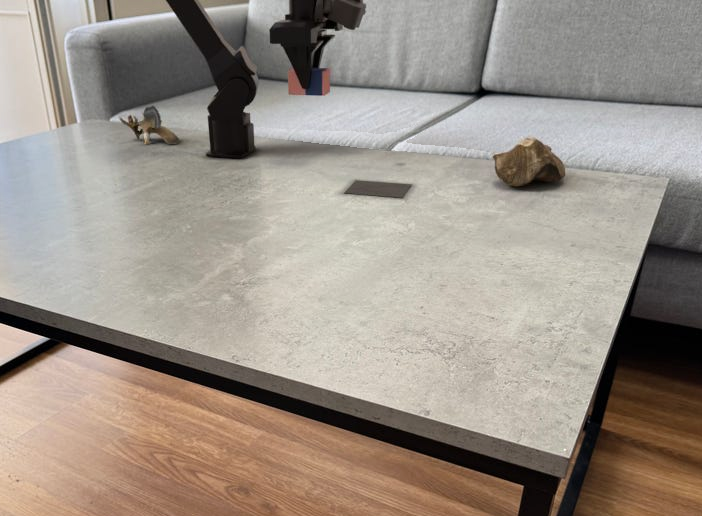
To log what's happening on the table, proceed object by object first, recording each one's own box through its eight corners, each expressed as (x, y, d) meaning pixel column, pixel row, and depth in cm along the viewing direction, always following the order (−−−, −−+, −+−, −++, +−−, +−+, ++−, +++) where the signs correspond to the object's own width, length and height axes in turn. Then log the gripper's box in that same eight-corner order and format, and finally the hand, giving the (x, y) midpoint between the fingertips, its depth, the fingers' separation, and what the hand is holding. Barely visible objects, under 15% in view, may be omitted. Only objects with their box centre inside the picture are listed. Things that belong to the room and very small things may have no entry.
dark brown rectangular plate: (344, 193, 95) (344, 192, 95) (355, 180, 100) (355, 180, 100) (402, 198, 93) (402, 197, 92) (411, 185, 97) (411, 184, 97)
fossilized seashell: (554, 153, 99) (483, 168, 100) (564, 118, 93) (488, 134, 94) (571, 194, 96) (497, 208, 96) (582, 160, 90) (504, 176, 91)
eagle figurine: (116, 140, 122) (158, 133, 117) (119, 100, 122) (161, 92, 118) (144, 155, 128) (184, 149, 124) (146, 117, 129) (187, 110, 125)
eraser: (288, 95, 110) (287, 70, 108) (294, 91, 113) (293, 67, 111) (324, 95, 108) (324, 71, 106) (330, 92, 111) (330, 68, 109)
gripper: (345, -25, 92) (343, 99, 100) (375, -31, 107) (372, 77, 115) (266, -22, 95) (270, 97, 103) (306, -29, 110) (307, 76, 118)
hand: (309, 86), depth 110 cm, fingers closed on eraser, 3 cm apart
